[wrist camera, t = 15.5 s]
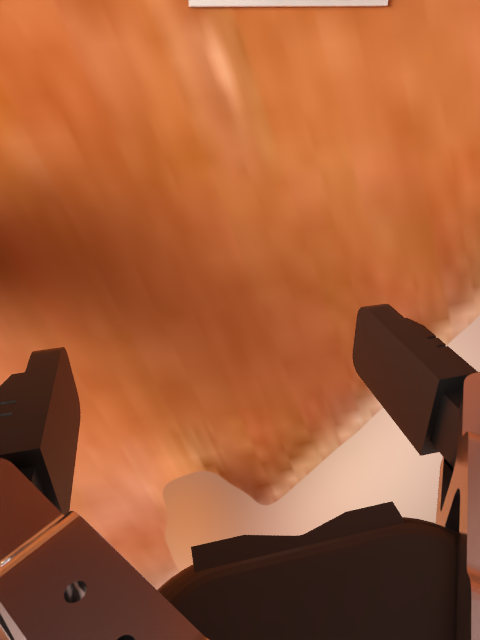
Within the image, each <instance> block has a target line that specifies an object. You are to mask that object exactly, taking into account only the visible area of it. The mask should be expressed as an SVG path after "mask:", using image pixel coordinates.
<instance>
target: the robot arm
mask: <svg viewBox="0 0 480 640" xmlns="http://www.w3.org/2000/svg"><path fill="white" fill-rule="evenodd" d="M353 362H354V366H355V369H356V372H357V373H358V375H359V376H360V378H361V379H362V380H363V381H364V383H365V384H366V385H367V387H368V388H369V389H370V390H371V392H372V393H373V394H374V396H375V397H376V398H377V400H378V401H379V402H380V403H381V405H382V406H383V407H384V409H385V410H386V411H387V412H388V414H389V415H390V416H391V418H392V419H393V420H394V422H395V423H396V424H397V425H398V427H399V428H400V429H401V431H402V432H403V433H404V435H405V436H406V437H407V438H408V440H409V441H410V442H411V444H412V445H413V446H414V448H415V449H416V450H417V451H418V453H419V454H420V455H426V454H431V453H436V452H440V453H441V454H442V456H443V459H442V462H441V466H440V477H439V490H438V502H437V503H438V504H437V514H436V524H435V523H432V522H428V521H424V520H420V519H413V518H405V517H402V516H401V515H400V513H399V511H398V510H397V508H396V507H395V505H394V503H393V502H388V503H383V504H379V505H375V506H370V507H366V508H361V509H357V510H353V511H348V512H345V513H343V514H341V515H339V516H338V517H336V518H334V519H332V520H330V521H328V522H326V523H324V524H323V525H321V526H319V527H317V528H315V529H313V530H311V531H309V532H308V533H306V534H304V535H300V536H269V535H268V536H266V535H242V536H237V537H233V538H229V539H224V540H220V541H215V542H211V543H207V544H202V545H198V546H193V547H191V550H192V557H193V565H191V566H189V567H188V568H186V569H184V570H182V571H181V572H179V573H178V574H176V575H175V576H174V577H172V578H171V579H169V580H168V581H167V582H166V583H165V584H164V585H162V586H161V587H160V588H159V589H158V590H156V589H155V588H154V587H153V586H152V585H151V584H150V583H149V582H148V581H147V580H146V579H145V578H144V577H143V576H142V575H141V574H140V573H139V572H138V571H137V570H136V569H135V568H134V567H133V566H132V565H131V564H130V563H129V562H128V561H126V560H125V559H124V558H123V557H122V556H121V555H120V554H119V553H118V552H117V551H116V550H115V549H114V548H113V547H112V546H111V545H110V544H109V543H108V542H107V541H106V540H105V539H104V538H103V537H102V536H101V535H100V534H99V533H98V532H97V531H96V530H95V529H94V528H93V527H91V526H90V525H89V524H88V523H87V522H86V521H85V520H84V519H83V518H82V517H81V516H80V515H79V514H77V513H76V512H74V511H70V512H69V508H70V500H71V492H72V483H73V475H74V467H75V459H76V450H77V442H78V434H79V426H80V403H79V397H78V393H77V389H76V385H75V381H74V378H73V374H72V370H71V366H70V362H69V358H68V355H67V352H66V350H65V348H64V347H62V348H55V349H48V350H40V351H33V352H32V353H31V356H30V359H29V362H28V365H27V368H26V371H25V373H18V374H12V375H11V376H10V377H9V378H8V379H7V380H6V381H5V382H4V383H3V384H2V385H1V386H0V627H1V628H2V630H3V631H4V633H5V634H6V636H7V637H8V639H9V640H480V372H477V371H476V370H475V369H474V368H473V367H471V366H470V365H469V364H468V363H467V362H466V361H464V360H463V359H462V358H461V357H460V356H459V355H457V354H456V353H455V352H454V351H453V350H452V349H450V348H449V347H448V346H447V347H446V346H445V343H443V342H442V341H441V340H440V339H439V338H436V336H435V335H434V334H433V333H432V332H430V331H429V330H428V329H427V328H426V327H425V326H423V325H421V324H419V323H417V322H415V321H412V320H410V319H408V318H404V317H403V316H402V315H400V314H399V313H398V312H397V311H396V310H395V309H394V308H392V307H391V306H390V305H389V304H381V305H374V306H366V307H361V308H360V309H359V311H358V314H357V322H356V330H355V339H354V347H353Z"/></svg>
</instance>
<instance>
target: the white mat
mask: <svg viewBox="0 0 480 640" xmlns="http://www.w3.org/2000/svg"><path fill="white" fill-rule="evenodd" d="M188 1H189V7H346V6H387V5H388V0H188Z"/></svg>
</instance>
